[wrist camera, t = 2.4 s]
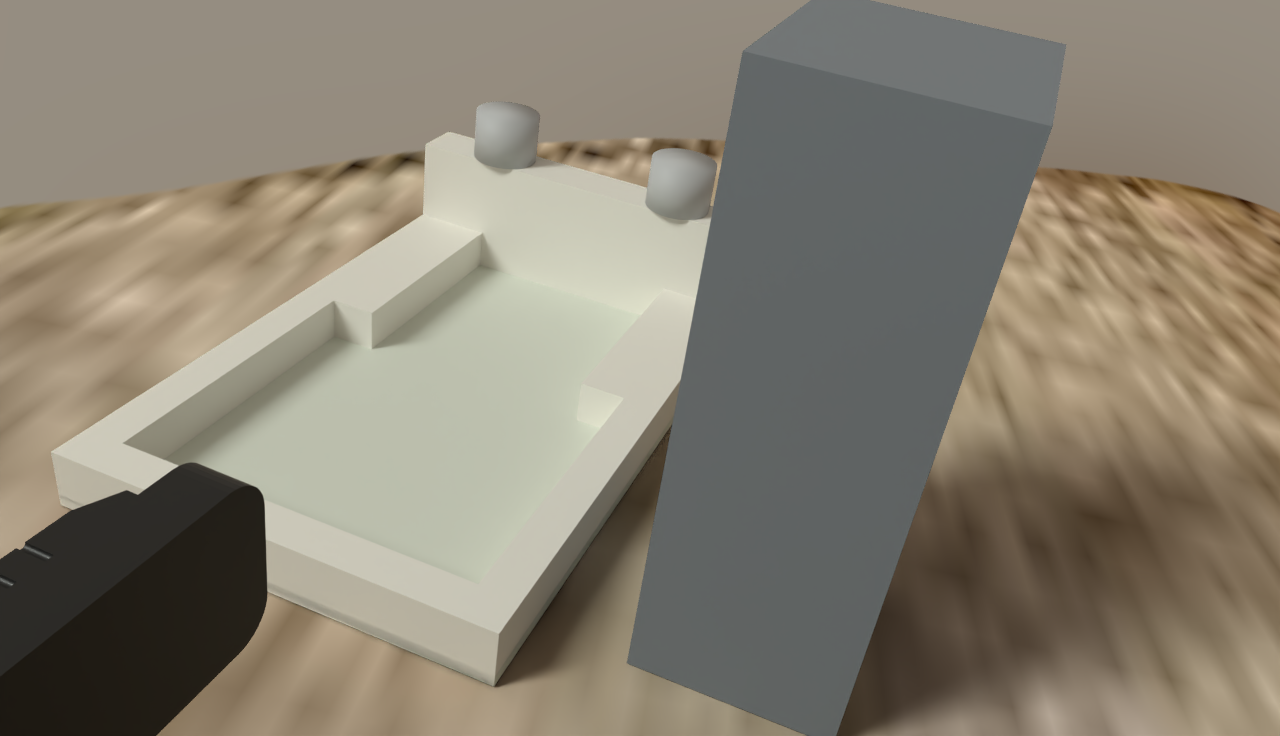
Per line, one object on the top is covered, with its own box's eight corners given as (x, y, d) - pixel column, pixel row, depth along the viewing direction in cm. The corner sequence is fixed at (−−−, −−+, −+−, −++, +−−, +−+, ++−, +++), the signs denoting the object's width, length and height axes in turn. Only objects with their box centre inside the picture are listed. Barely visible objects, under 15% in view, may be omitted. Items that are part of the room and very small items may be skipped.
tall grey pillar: (832, 745, 22) (1052, 126, 15) (626, 663, 23) (742, 50, 16) (880, 578, 26) (1066, 44, 19) (707, 516, 27) (824, -10, 20)
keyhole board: (494, 687, 22) (515, 471, 19) (61, 505, 24) (20, 291, 21) (737, 326, 36) (771, 172, 33) (447, 236, 38) (454, 86, 35)
